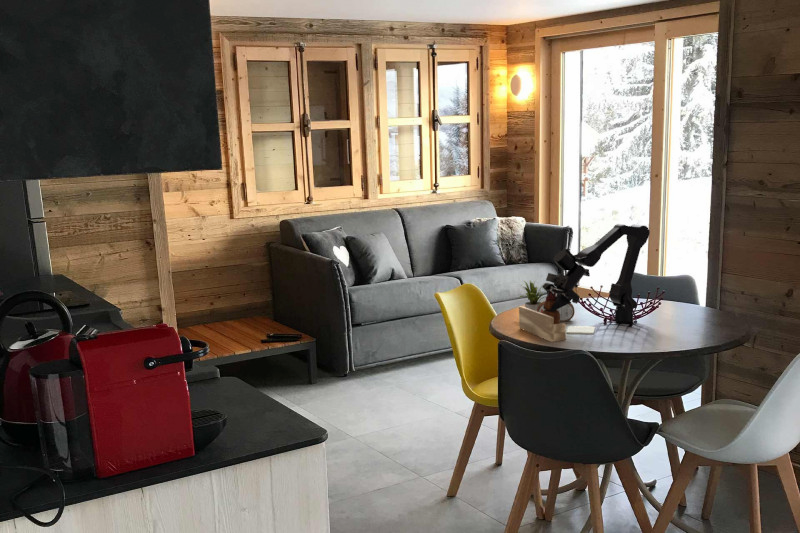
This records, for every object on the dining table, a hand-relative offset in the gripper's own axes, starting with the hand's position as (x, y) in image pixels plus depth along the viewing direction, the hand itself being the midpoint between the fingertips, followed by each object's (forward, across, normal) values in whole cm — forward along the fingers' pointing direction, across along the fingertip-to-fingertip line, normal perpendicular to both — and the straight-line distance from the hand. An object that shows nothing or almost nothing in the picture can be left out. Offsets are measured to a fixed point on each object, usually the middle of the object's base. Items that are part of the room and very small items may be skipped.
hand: (547, 309), depth 300 cm
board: (-2, +3, +15) cm, 16 cm away
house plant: (+1, -27, +12) cm, 30 cm away
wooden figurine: (+4, 0, +6) cm, 8 cm away
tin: (-2, -16, +16) cm, 23 cm away
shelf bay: (+8, 0, +4) cm, 9 cm away
